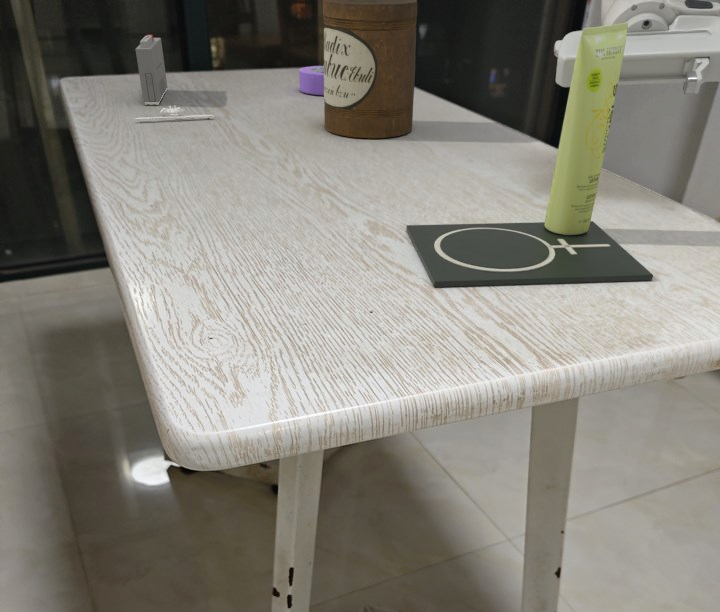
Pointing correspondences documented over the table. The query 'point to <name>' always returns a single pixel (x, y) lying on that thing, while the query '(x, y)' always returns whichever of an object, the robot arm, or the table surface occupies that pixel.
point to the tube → (585, 129)
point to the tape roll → (312, 80)
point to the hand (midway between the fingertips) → (648, 89)
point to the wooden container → (369, 67)
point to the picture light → (176, 113)
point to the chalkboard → (520, 255)
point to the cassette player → (151, 68)
